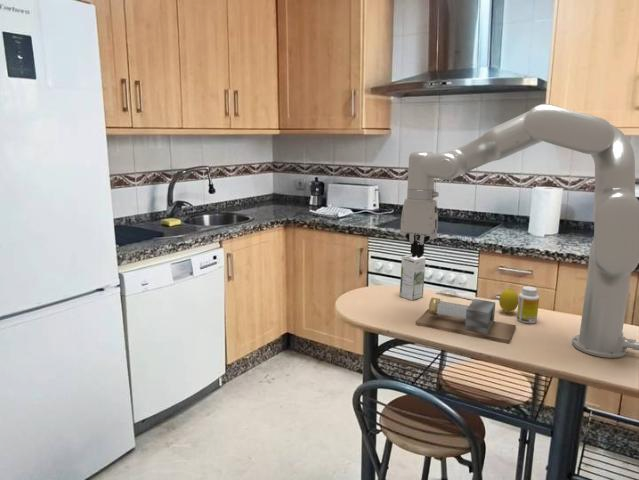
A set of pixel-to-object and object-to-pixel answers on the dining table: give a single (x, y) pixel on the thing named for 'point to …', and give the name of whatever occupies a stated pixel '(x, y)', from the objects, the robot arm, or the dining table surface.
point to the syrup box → (412, 277)
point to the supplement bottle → (528, 305)
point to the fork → (455, 294)
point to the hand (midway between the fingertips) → (417, 256)
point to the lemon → (508, 300)
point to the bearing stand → (471, 322)
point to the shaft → (447, 308)
